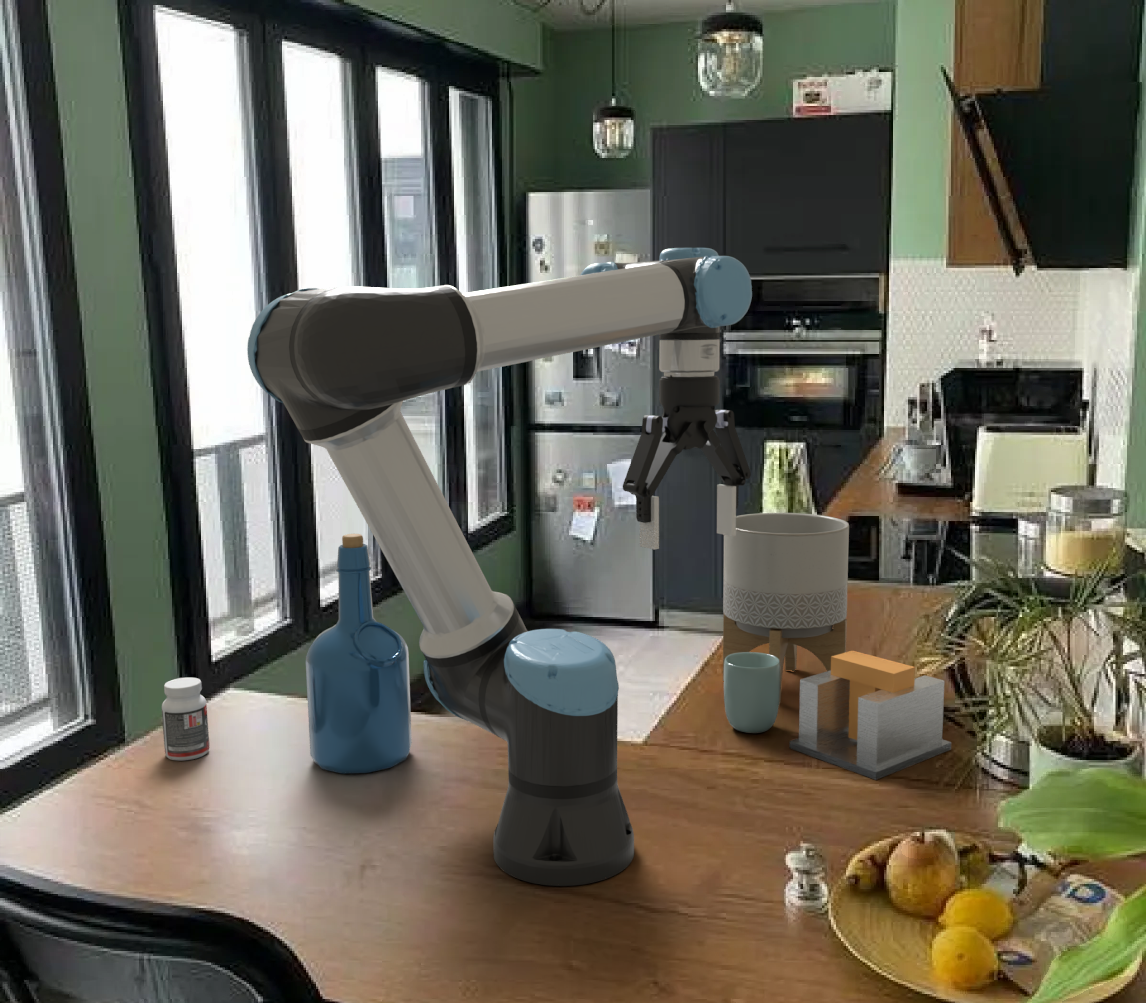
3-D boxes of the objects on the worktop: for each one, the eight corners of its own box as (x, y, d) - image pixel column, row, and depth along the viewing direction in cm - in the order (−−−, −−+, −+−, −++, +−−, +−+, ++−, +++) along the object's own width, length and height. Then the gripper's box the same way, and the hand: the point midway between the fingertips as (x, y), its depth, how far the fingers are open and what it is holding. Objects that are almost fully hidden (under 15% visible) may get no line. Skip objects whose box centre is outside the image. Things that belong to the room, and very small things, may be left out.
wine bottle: (290, 759, 150) (278, 536, 145) (371, 733, 159) (363, 522, 155) (352, 787, 140) (342, 549, 136) (435, 757, 150) (427, 534, 145)
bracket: (875, 780, 141) (878, 706, 139) (789, 748, 152) (790, 679, 150) (951, 749, 151) (953, 680, 149) (864, 721, 161) (866, 657, 160)
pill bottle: (217, 753, 152) (213, 682, 151) (178, 765, 148) (173, 692, 147) (196, 743, 156) (191, 673, 155) (157, 754, 152) (152, 683, 151)
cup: (778, 740, 155) (779, 669, 153) (721, 736, 156) (721, 666, 155) (780, 720, 162) (781, 653, 161) (725, 717, 164) (725, 650, 162)
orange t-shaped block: (891, 752, 146) (893, 673, 144) (829, 731, 153) (831, 656, 152) (912, 744, 148) (915, 667, 147) (850, 724, 156) (852, 650, 155)
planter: (838, 710, 166) (842, 536, 162) (711, 698, 172) (712, 530, 168) (850, 673, 184) (854, 515, 180) (734, 663, 190) (736, 510, 186)
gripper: (634, 379, 132) (634, 558, 135) (779, 371, 147) (776, 533, 150) (593, 377, 137) (594, 549, 141) (737, 370, 153) (735, 525, 156)
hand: (688, 541), depth 145 cm, fingers open, 13 cm apart
